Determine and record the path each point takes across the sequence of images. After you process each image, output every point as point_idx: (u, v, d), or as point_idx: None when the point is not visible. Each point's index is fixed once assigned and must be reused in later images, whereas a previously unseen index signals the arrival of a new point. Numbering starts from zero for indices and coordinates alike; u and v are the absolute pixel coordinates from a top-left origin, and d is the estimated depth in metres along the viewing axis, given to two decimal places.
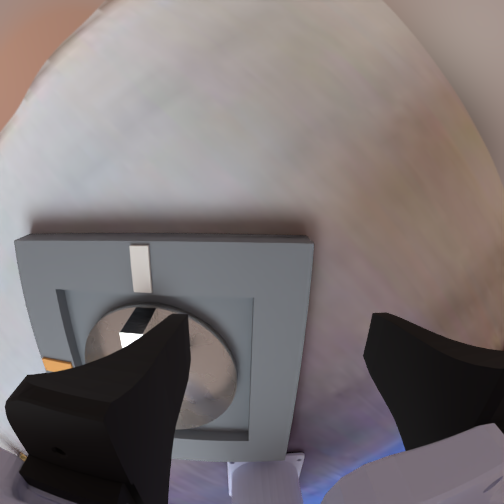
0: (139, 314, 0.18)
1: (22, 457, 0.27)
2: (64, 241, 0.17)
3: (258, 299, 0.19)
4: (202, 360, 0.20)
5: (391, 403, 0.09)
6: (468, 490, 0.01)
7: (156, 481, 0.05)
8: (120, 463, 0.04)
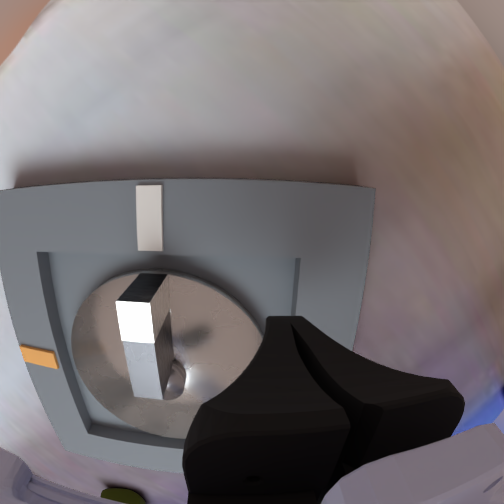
0: (144, 280, 0.13)
1: None
2: (51, 186, 0.13)
3: (306, 260, 0.14)
4: (226, 347, 0.16)
5: None
6: (468, 490, 0.01)
7: None
8: (333, 468, 0.04)
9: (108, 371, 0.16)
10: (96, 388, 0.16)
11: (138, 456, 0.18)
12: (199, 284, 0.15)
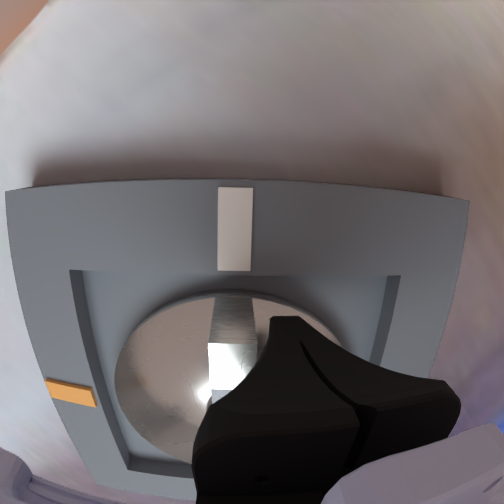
0: (228, 308, 0.11)
1: None
2: (91, 184, 0.10)
3: (405, 277, 0.12)
4: None
5: None
6: (468, 490, 0.01)
7: None
8: (342, 467, 0.04)
9: (162, 408, 0.13)
10: (144, 426, 0.14)
11: (186, 489, 0.15)
12: (289, 308, 0.12)
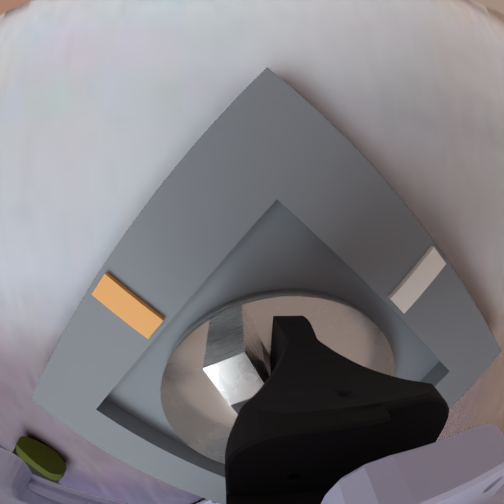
0: (220, 325, 0.11)
1: None
2: (363, 158, 0.11)
3: (449, 374, 0.14)
4: (338, 349, 0.13)
5: None
6: (468, 490, 0.01)
7: None
8: (370, 462, 0.04)
9: (222, 432, 0.14)
10: (217, 453, 0.15)
11: (139, 455, 0.14)
12: (281, 298, 0.12)
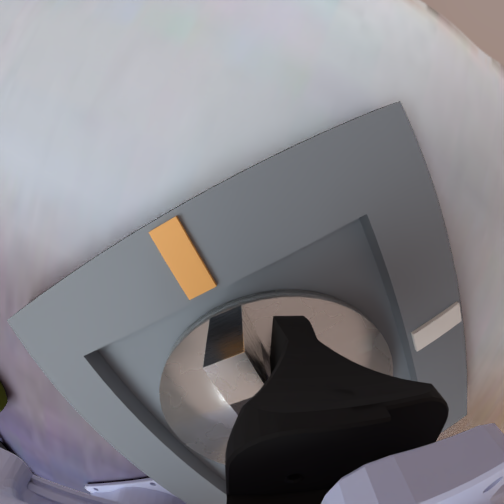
0: (220, 325, 0.11)
1: None
2: (439, 209, 0.11)
3: None
4: (337, 349, 0.13)
5: None
6: (468, 490, 0.01)
7: None
8: (370, 461, 0.04)
9: (220, 432, 0.14)
10: (215, 452, 0.15)
11: (107, 417, 0.13)
12: (281, 298, 0.12)
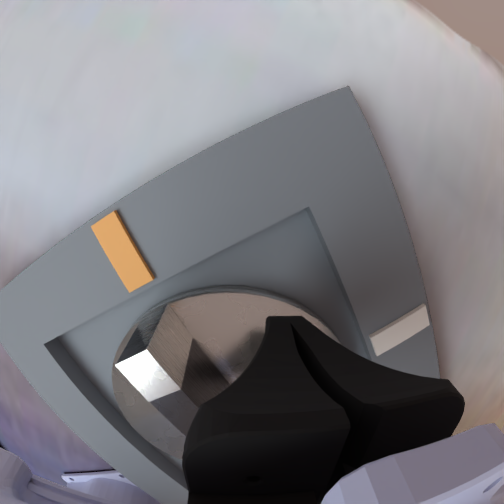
0: (144, 324, 0.11)
1: None
2: (398, 202, 0.11)
3: None
4: None
5: None
6: (468, 490, 0.01)
7: None
8: (333, 468, 0.04)
9: (178, 430, 0.14)
10: (179, 451, 0.14)
11: (69, 405, 0.13)
12: (205, 295, 0.12)
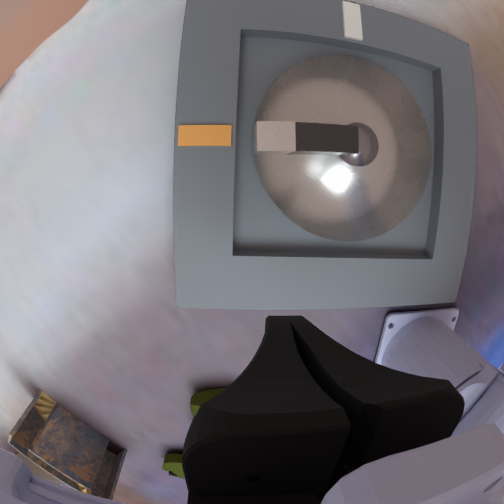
0: (254, 143, 0.16)
1: (42, 399, 0.23)
2: None
3: (443, 70, 0.15)
4: (320, 86, 0.16)
5: None
6: (468, 490, 0.01)
7: None
8: (333, 468, 0.04)
9: (358, 203, 0.18)
10: (380, 223, 0.18)
11: (293, 284, 0.19)
12: (260, 104, 0.16)
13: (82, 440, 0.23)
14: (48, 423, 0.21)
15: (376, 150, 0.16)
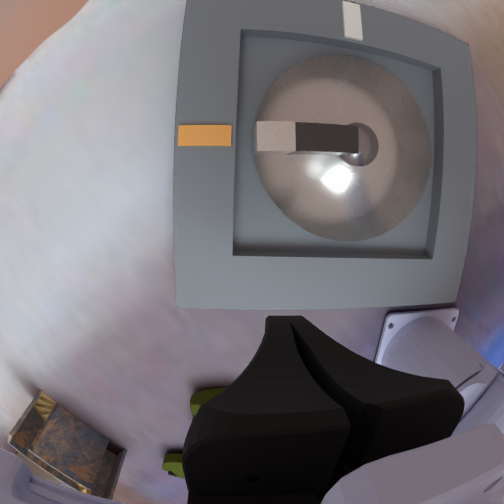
0: (254, 143, 0.16)
1: (42, 399, 0.23)
2: None
3: (443, 70, 0.15)
4: (320, 86, 0.16)
5: None
6: (468, 490, 0.01)
7: None
8: (333, 468, 0.04)
9: (358, 203, 0.18)
10: (380, 223, 0.18)
11: (293, 284, 0.19)
12: (260, 104, 0.16)
13: (82, 440, 0.23)
14: (48, 423, 0.21)
15: (376, 150, 0.16)
